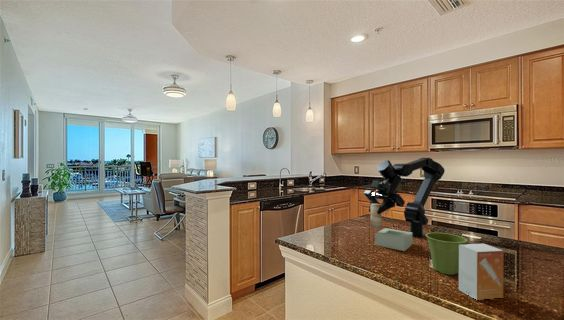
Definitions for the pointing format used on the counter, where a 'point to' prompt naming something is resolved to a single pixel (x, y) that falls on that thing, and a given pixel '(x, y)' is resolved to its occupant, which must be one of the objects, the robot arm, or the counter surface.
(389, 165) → the robot arm
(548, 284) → the counter surface
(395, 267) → the counter surface
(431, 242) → the plant pot
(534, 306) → the counter surface
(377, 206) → the beech peg
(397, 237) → the socket block
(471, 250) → the small box
